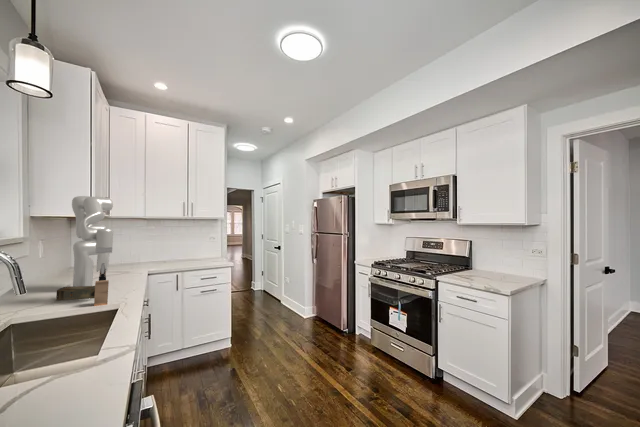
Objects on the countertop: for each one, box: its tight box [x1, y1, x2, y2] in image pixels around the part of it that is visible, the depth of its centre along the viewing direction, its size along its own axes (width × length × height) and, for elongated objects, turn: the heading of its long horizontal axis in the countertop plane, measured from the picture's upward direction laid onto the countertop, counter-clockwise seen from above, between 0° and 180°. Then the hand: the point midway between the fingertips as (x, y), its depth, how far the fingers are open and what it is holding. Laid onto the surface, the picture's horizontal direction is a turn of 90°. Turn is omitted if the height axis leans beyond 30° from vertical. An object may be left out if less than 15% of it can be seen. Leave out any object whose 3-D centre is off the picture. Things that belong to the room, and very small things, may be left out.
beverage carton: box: [55, 285, 95, 301], centre depth 161 cm, size 8×19×7 cm, turn 110°
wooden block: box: [93, 279, 110, 307], centre depth 149 cm, size 6×6×12 cm
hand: (102, 283), depth 157 cm, fingers closed
